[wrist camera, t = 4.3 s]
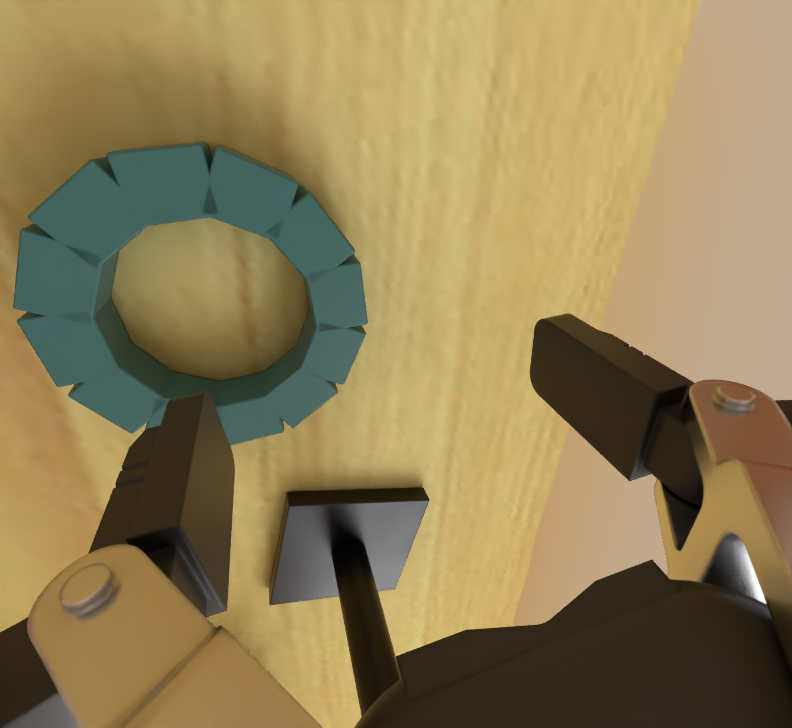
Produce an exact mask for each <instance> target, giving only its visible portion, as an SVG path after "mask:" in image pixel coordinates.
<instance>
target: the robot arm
mask: <svg viewBox="0 0 792 728" xmlns="http://www.w3.org/2000/svg"><path fill="white" fill-rule="evenodd" d="M530 379H531V383H532V385H533V388H534V389H535V391H536V393H537V394H538V395H539V396H540V397H541V398H542V399H543V400H544V401H545V402H547V403H548V404H549V405H550V406H551V407H552V408H553V409H554V410H555V411H556V412H557V413H558V414H559V415H560V416H561V417H562V418H563V419H564V420H565V421H567V422H568V423H569V424H570V425H571V426H572V427H573V428H574V429H575V430H576V431H577V432H578V433H579V434H580V435H581V436H582V437H584V438H585V439H586V440H587V441H588V442H589V443H590V444H591V445H592V446H593V447H594V448H595V449H596V450H597V451H598V452H599V453H600V454H601V455H603V456H604V457H605V458H606V459H607V460H608V461H609V462H610V463H611V464H612V465H613V466H614V467H615V468H616V469H617V470H618V471H619V472H620V473H621V474H622V475H624V476H625V477H626V478H627V479H628V480H629V481H632V480H635V479H638V478H641V477H644V476H647V475H650V474H653V475H654V476H655V477H656V478H657V480H656V483H655V486H654V495H655V501H656V505H657V511H658V516H659V522H660V527H661V532H662V538H663V543H664V548H665V554H666V559H667V575H665V573H664V572H663V571H662V570H661V569H660V568H659V567H658V566H657V565H656V563H654V561H653V560H650V561H647V562H644V563H642V564H639V565H636V566H634V567H631V568H628V569H626V570H623V571H620V572H618V573H615V574H613V575H610V576H607V577H605V578H602V579H600V580H597V581H595V582H594V583H593V584H591V585H590V586H589V587H588V588H587V589H586V590H584V591H583V592H582V593H581V594H580V595H579V596H577V597H576V598H575V599H574V600H573V601H571V602H570V603H569V604H568V605H567V606H566V607H564V608H563V609H562V610H561V611H560V612H558V613H557V614H556V615H555V616H554V617H553V618H552V619H550V620H549V621H547V622H545V623H543V624H539V625H528V626H515V627H500V628H487V629H473V630H465V631H462V632H459V633H457V634H454V635H451V636H449V637H446V638H443V639H441V640H438V641H435V642H433V643H430V644H428V645H425V646H422V647H420V648H417V649H414V650H412V651H409V652H406V653H404V654H401V655H398V656H396V660H397V666H398V672H399V678H400V680H398V681H397V682H396V683H395V684H393V685H392V686H391V687H390V688H389V689H387V690H386V691H385V692H384V693H383V694H382V695H381V696H380V697H379V698H378V699H377V700H376V701H375V702H374V703H373V704H372V705H371V706H370V707H369V709H368V710H367V711H366V713H365V714H364V715H363V717H362V718H361V719H360V721H359V722H358V723H357V724H356V726H355V728H792V400H777V401H774V400H773V399H772V398H770V397H769V396H767V395H766V394H764V393H762V392H761V391H759V390H756V389H754V388H751V387H749V386H746V385H743V384H739V383H736V382H731V381H724V380H703V381H699V382H696V383H694V382H692V381H690V380H688V379H687V378H685V377H684V376H682V375H680V374H678V373H677V372H675V371H673V370H671V369H670V368H668V367H666V366H665V365H663V364H661V363H660V362H658V361H656V360H654V359H653V358H651V357H649V356H648V355H643V353H642V352H641V351H639V350H637V349H636V348H634V347H629V344H627V343H626V342H624V341H622V340H620V339H619V338H617V337H615V336H614V335H612V334H608V333H606V332H602V331H599V330H597V329H595V328H593V327H592V326H590V325H588V324H587V323H585V322H583V321H582V320H580V319H578V318H577V317H575V316H573V315H571V314H563V315H558V316H554V317H549V318H545V319H541V320H539V321H538V322H537V323H536V326H535V330H534V338H533V348H532V357H531V366H530ZM234 476H235V467H234V459H233V454H232V450H231V446H230V444H229V441H228V438H227V436H226V433H225V431H224V428H223V426H222V423H221V420H220V418H219V415H218V413H217V410H216V408H215V405H214V402H213V400H212V398H211V396H210V394H209V393H208V392H202V393H197V394H193V395H188V396H184V397H179V398H174V399H170V400H169V401H168V403H167V406H166V409H165V412H164V415H163V419H162V422H161V425H160V426H156V427H151V428H147V429H146V430H145V431H144V432H143V433H142V434H141V435H140V437H139V438H138V439H137V440H136V441H135V442H134V443H133V444H132V445H131V446H130V447H129V450H128V453H127V455H126V458H125V460H124V463H123V465H122V471H120V473H119V476H118V478H117V481H116V488H114V489H113V491H112V494H111V496H110V499H109V502H108V504H107V507H106V509H105V512H104V515H103V517H102V520H101V522H100V525H99V527H98V530H97V533H96V535H95V538H94V540H93V543H92V546H91V548H90V551H89V553H88V554H87V555H85V556H83V557H81V558H80V559H78V560H76V561H75V562H73V563H72V564H70V565H69V566H68V567H66V568H65V569H64V570H63V571H61V572H60V573H59V574H58V575H57V576H56V577H55V578H54V579H53V580H52V581H51V582H50V583H49V584H48V585H47V586H46V587H45V588H44V590H43V591H42V592H41V594H40V595H39V596H38V598H37V600H36V601H35V603H34V605H33V607H32V609H31V612H30V614H29V617H27V618H26V619H24V620H22V621H21V622H19V623H17V624H15V625H13V626H11V627H10V628H8V629H6V630H4V631H2V632H0V728H323V727H322V726H321V725H320V724H319V723H318V722H317V721H316V720H315V719H314V718H313V717H312V716H311V715H310V714H309V713H308V712H307V711H306V710H305V709H304V708H303V707H302V706H301V705H300V704H299V703H298V702H297V701H296V700H295V699H294V698H293V697H292V696H291V695H290V694H289V693H288V692H287V690H286V689H285V688H284V687H283V686H282V685H281V684H280V683H279V682H278V681H277V680H276V679H275V678H274V677H273V676H272V675H271V674H270V673H269V672H268V671H267V670H266V669H265V668H264V667H263V666H262V665H261V664H260V663H259V662H258V661H257V660H256V659H255V658H254V657H253V656H252V655H251V654H250V653H249V652H248V651H247V649H246V648H245V647H244V646H243V645H242V644H241V643H240V642H239V641H238V640H237V639H236V638H235V637H234V636H233V635H232V634H231V633H229V632H228V631H227V630H226V629H225V628H223V627H222V626H218V627H217V628H216V627H215V626H214V625H213V624H212V623H211V622H210V621H209V620H208V619H207V618H206V617H209V616H212V615H215V614H218V613H221V612H224V611H227V600H228V583H229V565H230V547H231V529H232V511H233V493H234Z"/></svg>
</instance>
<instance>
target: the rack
mask: <svg viewBox="0 0 792 728" xmlns="http://www.w3.org/2000/svg"><path fill="white" fill-rule="evenodd" d="M428 502H429V498H428V496H427V494H426V492H425V490H424V488H403V489H371V490H338V491H306V492H288V493H287V497H286V502H285V507H284V513H283V518H282V523H281V529H280V534H279V539H278V545H277V550H276V555H275V560H274V566H273V571H272V576H271V582H270V587H269V604H270V605H275V604H283V603H290V602H298V601H306V600H314V599H321V598H329V597H337V596H339V598H340V603H341V608H342V614H343V619H344V624H345V630H346V635H347V640H348V646H349V651H350V656H351V662H352V667H353V672H354V678H355V683H356V688H357V694H358V699H359V704H360V709H361V715H362V717H363V715H364V714H365V713H366V711H367V710H368V709H369V707H370V706H371V705H372V704H373V703H374V702H375V701H376V700H377V699H378V698H379V697H380V696H381V695H382V694H383V693H384V692H385V691H386V690H387V689H389V688H390V687H391V686H392V685H393V684H395V683H396V682H397V681H398V680H400V678H399V672H398V666H397V661H396V657H395V653H394V650H393V646H392V642H391V639H390V635H389V631H388V628H387V624H386V620H385V617H384V613H383V609H382V606H381V602H380V598H379V595H378V591H383V590H390V589H395V588H396V585H397V583H398V580H399V577H400V575H401V572H402V570H403V567H404V564H405V562H406V559H407V557H408V554H409V551H410V549H411V546H412V544H413V541H414V539H415V536H416V533H417V531H418V528H419V526H420V523H421V520H422V518H423V515H424V513H425V510H426V507H427V505H428Z"/></svg>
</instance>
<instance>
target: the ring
mask: <svg viewBox="0 0 792 728" xmlns="http://www.w3.org/2000/svg"><path fill="white" fill-rule="evenodd" d="M297 188H298V182H297V181H296V180H295V179H294V178H293V177H292V176H291V175H289V174H286V173H284V172H282V171H280V170H278V169H275V168H273V167H271V166H269V165H266V164H264V163H262V162H260V161H257V160H255V159H253V158H251V157H249V156H246V155H244V154H242V153H240V152H237V151H235V150H233V149H231V148H228V147H226V146H224V145H219V146H217V147H216V148H215V150H214V154H213V158H212V157H211V154H210V150H209V147H208V144H207V142H195V143H185V144H175V145H165V146H155V147H145V148H135V149H125V150H119V151H114V152H108V153H107V157H102V158H97V159H92V160H89V161H88V162H87V163H86V164H85V165H84V166H83V167H82V168H80V169H79V170H78V171H77V172H76V173H75V174H74V175H73V176H72V177H70V178H69V179H68V180H67V181H66V182H65V183H64V184H63V185H62V186H60V187H59V188H58V189H57V190H56V191H55V192H54V193H53V194H52V195H50V196H49V197H48V198H47V199H46V200H45V201H44V202H43V203H42V204H40V205H39V206H38V207H37V208H36V209H35V210H34V211H33V212H31V213H30V214H29V215H28V218H29V219H30V220H31V221H32V222H33V223H35V224H32V225H30V226H28V227H26V228H23V229H21V231H20V241H19V251H18V262H17V272H16V283H15V293H14V304H13V307H14V308H15V309H18V310H23V311H27V313H25V314H24V315H23V316H22V317H21V318H19V319H18V320H17V323H18V324H19V326H20V327H21V329H22V331H23V332H24V334H25V336H26V337H27V339H28V340H29V342H30V344H31V345H32V347H33V348H34V350H35V352H36V353H37V355H38V357H39V358H40V360H41V361H42V363H43V365H44V366H45V368H46V369H47V371H48V373H49V374H50V376H51V378H52V379H53V381H54V382H55V384H56V386H57V387H62V386H67V385H72V384H75V385H74V386H73V388H72V389H71V391H70V392H69V394H68V396H69V397H70V398H72V399H74V400H75V401H77V402H79V403H80V404H82V405H84V406H85V407H87V408H89V409H90V410H92V411H94V412H96V413H97V414H99V415H101V416H102V417H104V418H106V419H107V420H109V421H111V422H112V423H114V424H116V425H118V426H119V427H121V428H123V429H124V430H126V431H128V432H129V433H134V432H136V431H137V430H138V429H139V428H140V427H142V426H143V425H144V424H145V423H147V425H146V429H147V428H151V427H156V426H160V425H161V422H162V419H163V415H164V412H165V409H166V406H167V403H168V401H169V400H170V399H174V398H179V397H184V396H188V395H193V394H197V393H202V392H208V393H209V394H210V396H211V398H212V400H213V402H214V405H215V408H216V410H217V413H218V415H219V418H220V420H221V423H222V426H223V428H224V431H225V433H226V436H227V438H228V441H229V444H230V445H233V444H237V443H241V442H245V441H249V440H253V439H257V438H261V437H265V436H269V435H273V434H277V433H281V432H283V431H284V424H283V420H284V421H285V422H286V423H287V424H289V425H290V426H291V427H295V426H296V425H297V424H299V423H300V422H301V421H302V420H304V419H305V418H306V417H307V416H309V415H310V414H311V413H313V412H314V411H315V410H316V409H318V408H319V407H320V406H321V405H323V404H324V403H325V402H327V401H328V400H329V399H330V398H332V397H333V396H334V395H335V394H337V393H338V390H337V387H336V384H335V383H339V384H344V383H345V380H346V378H347V376H348V374H349V371H350V369H351V367H352V364H353V362H354V360H355V358H356V355H357V353H358V351H359V348H360V346H361V344H362V342H363V339H364V337H365V335H366V332H365V331H364V329H363V327H362V325H364V324H367V323H368V320H367V312H366V304H365V296H364V289H363V281H362V273H361V265H360V262H359V261H358V259H357V258H356V257H355V256H354V254H353V253H354V252H355V250H354V248H353V247H352V246H351V244H350V243H349V242H348V240H347V239H346V238H345V236H344V235H343V234H342V233H341V231H340V230H339V229H338V227H337V226H336V225H335V223H334V222H333V221H332V220H331V218H330V217H329V216H328V214H327V213H326V212H325V210H324V209H323V208H322V207H321V205H320V204H319V203H318V201H317V200H316V199H315V197H314V196H313V195H312V194H311V192H310V191H309V190H308V189H307V188H306V187H305V186H301V187H300V188H298V189H297ZM208 217H212V218H215V219H217V220H220V221H223V222H226V223H228V224H231V225H234V226H236V227H239V228H242V229H244V230H247V231H250V232H252V233H255V234H258V235H261V236H263V237H266V238H269V239H270V240H271V241H272V242H273V243H274V244H275V245H276V246H277V248H278V249H279V250H280V251H281V252H282V253H283V254H284V255H285V256H286V258H287V259H288V260H289V261H290V262H291V263H292V264H293V265H294V266H295V268H296V269H297V270H298V271H299V272H300V273H301V274H302V275H303V277H304V282H305V286H306V291H307V296H308V301H309V306H310V310H309V312H308V315H307V318H306V320H305V323H304V326H303V328H302V331H301V334H300V336H299V339H298V342H297V344H296V346H295V347H294V348H292V349H291V350H290V351H289V352H287V353H286V354H285V355H284V356H282V357H281V358H280V359H279V360H278V361H276V362H275V363H274V364H273V365H271V366H270V367H269V368H268V369H266V370H265V371H264V372H261V373H257V374H252V375H248V376H243V377H239V378H234V379H229V380H225V381H215V380H210V379H205V378H200V377H195V376H191V375H186V374H181V373H176V372H172V371H170V370H169V369H168V368H166V367H165V366H164V365H162V364H161V363H159V362H158V361H157V360H155V359H154V358H153V357H151V356H150V355H148V354H147V353H146V352H144V351H143V350H142V349H140V348H139V347H137V346H136V345H135V344H133V343H132V342H131V340H130V337H129V335H128V333H127V331H126V329H125V327H124V325H123V323H122V320H121V318H120V316H119V314H118V312H117V310H116V308H115V306H114V304H113V301H112V299H111V292H112V286H113V281H114V275H115V270H116V265H117V259H118V254H119V250H120V249H121V248H122V247H123V246H125V245H126V244H127V243H128V242H129V241H130V240H132V239H133V238H134V237H135V236H136V235H137V234H138V233H140V232H141V231H142V230H143V229H144V228H145V227H146V226H149V225H156V224H164V223H171V222H178V221H186V220H193V219H200V218H208ZM146 429H145V430H146Z"/></svg>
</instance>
